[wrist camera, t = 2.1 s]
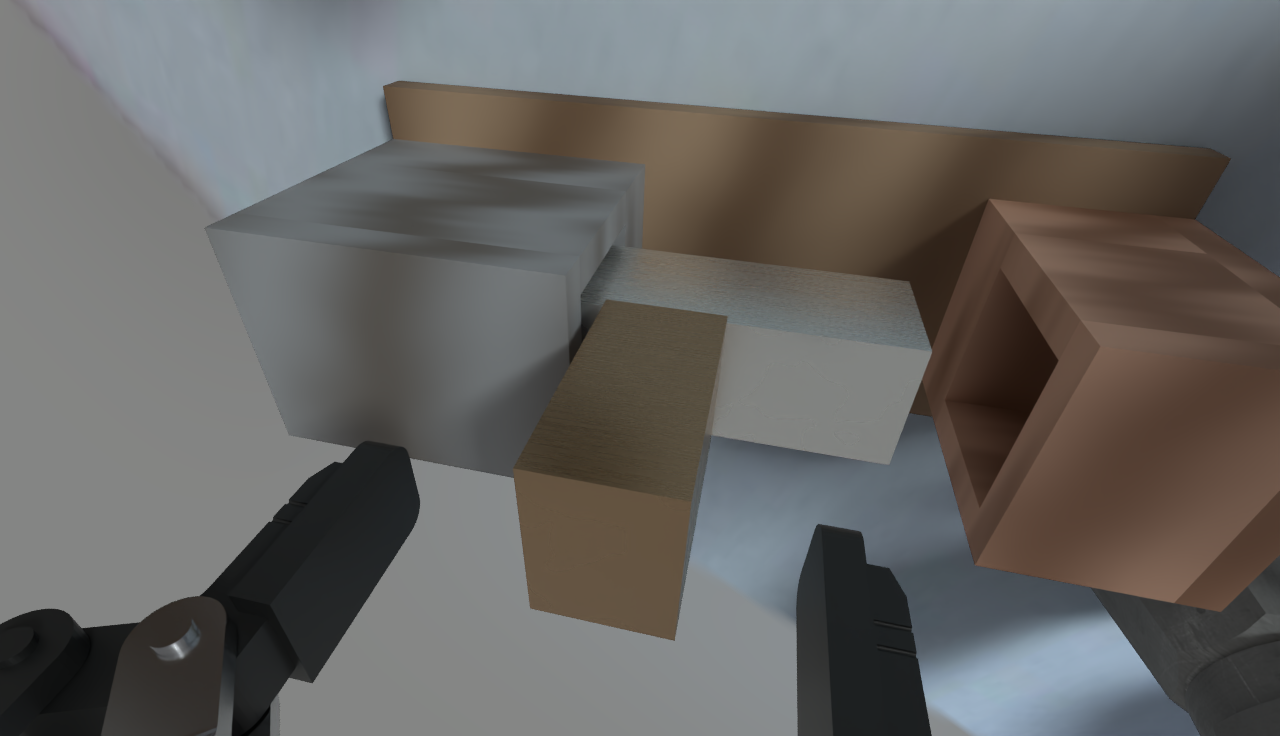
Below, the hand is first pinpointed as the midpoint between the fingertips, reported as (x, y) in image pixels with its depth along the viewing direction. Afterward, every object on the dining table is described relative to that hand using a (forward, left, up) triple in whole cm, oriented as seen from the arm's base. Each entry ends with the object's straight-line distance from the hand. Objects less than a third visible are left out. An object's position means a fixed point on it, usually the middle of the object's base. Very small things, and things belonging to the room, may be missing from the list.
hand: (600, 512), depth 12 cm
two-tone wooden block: (+2, 0, -9) cm, 9 cm away
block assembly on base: (-1, 0, -13) cm, 13 cm away
